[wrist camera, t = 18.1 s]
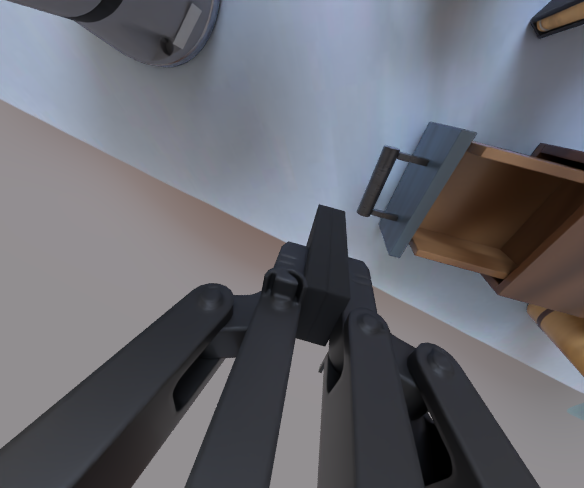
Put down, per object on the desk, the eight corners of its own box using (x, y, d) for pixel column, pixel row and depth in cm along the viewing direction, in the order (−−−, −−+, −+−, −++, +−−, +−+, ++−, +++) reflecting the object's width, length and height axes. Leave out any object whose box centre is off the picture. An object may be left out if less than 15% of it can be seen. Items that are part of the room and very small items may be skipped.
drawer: (346, 215, 30) (349, 244, 24) (388, 110, 23) (406, 114, 17) (492, 254, 29) (532, 294, 23) (579, 160, 23) (668, 181, 16)
